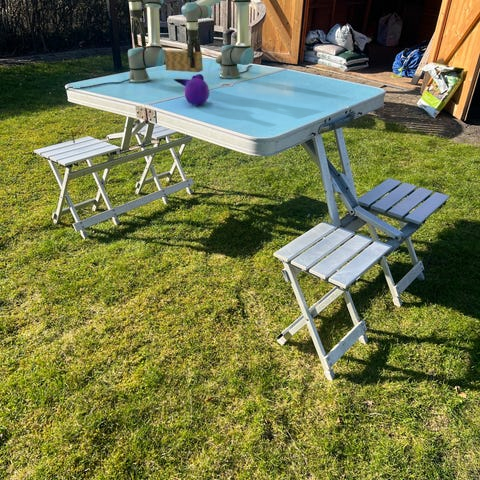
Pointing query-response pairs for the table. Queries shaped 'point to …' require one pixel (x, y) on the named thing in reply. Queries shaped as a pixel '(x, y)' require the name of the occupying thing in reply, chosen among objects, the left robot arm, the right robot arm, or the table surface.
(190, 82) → the toy
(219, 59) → the teapot
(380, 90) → the table surface
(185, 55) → the box
